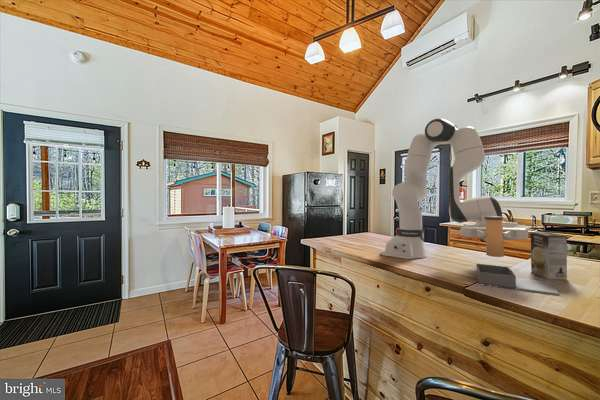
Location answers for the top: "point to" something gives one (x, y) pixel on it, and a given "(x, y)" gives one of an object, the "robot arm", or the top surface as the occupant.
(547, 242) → the coffee box
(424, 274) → the top surface
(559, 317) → the top surface
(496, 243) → the lidded coffee cup
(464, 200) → the robot arm
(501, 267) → the mailer box
